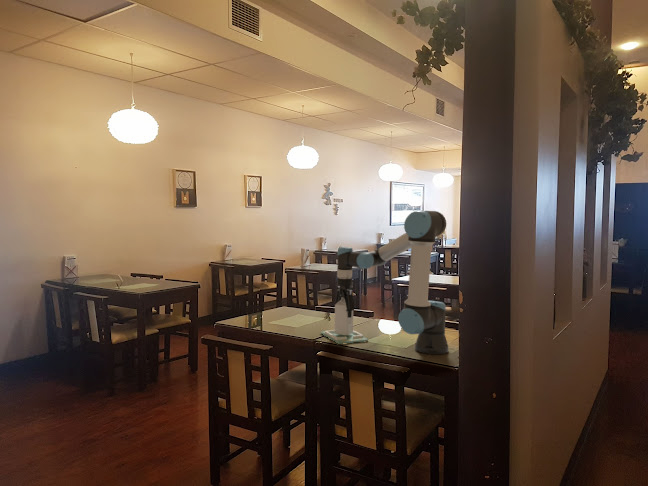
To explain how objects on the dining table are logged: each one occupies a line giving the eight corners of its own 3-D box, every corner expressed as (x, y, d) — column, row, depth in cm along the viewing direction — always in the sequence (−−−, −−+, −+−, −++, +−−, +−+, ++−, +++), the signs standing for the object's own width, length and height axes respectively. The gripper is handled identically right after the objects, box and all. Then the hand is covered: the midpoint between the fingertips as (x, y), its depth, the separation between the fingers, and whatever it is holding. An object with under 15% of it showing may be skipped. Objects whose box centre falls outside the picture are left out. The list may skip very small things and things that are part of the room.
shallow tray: (367, 341, 230) (368, 336, 230) (338, 344, 223) (338, 340, 223) (347, 331, 250) (348, 326, 250) (320, 333, 244) (320, 329, 243)
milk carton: (334, 334, 235) (334, 296, 234) (340, 331, 241) (341, 294, 240) (347, 335, 232) (347, 298, 231) (353, 332, 238) (353, 296, 237)
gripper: (361, 280, 226) (361, 325, 227) (341, 274, 247) (341, 316, 248) (347, 281, 223) (347, 327, 224) (328, 275, 244) (328, 317, 245)
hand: (343, 321), depth 236 cm, fingers closed on milk carton, 10 cm apart
